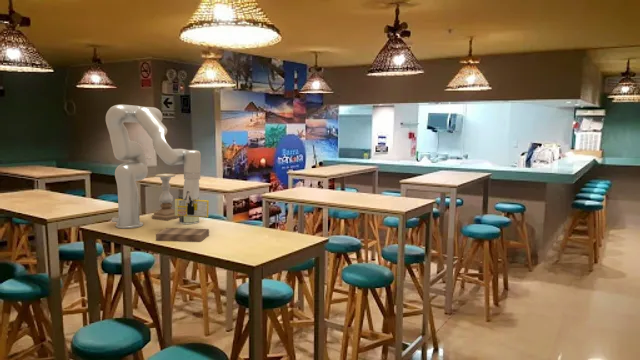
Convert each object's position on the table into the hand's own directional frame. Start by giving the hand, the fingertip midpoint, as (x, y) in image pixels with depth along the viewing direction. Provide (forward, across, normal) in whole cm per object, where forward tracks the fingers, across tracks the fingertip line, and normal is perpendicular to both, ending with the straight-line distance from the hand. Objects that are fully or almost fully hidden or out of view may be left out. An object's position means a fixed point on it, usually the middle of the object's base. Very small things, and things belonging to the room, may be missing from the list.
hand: (191, 213), depth 221 cm
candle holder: (+10, -28, -24) cm, 38 cm away
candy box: (+2, 0, 0) cm, 2 cm away
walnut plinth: (+8, +14, +1) cm, 16 cm away
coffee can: (+9, -19, -8) cm, 22 cm away
